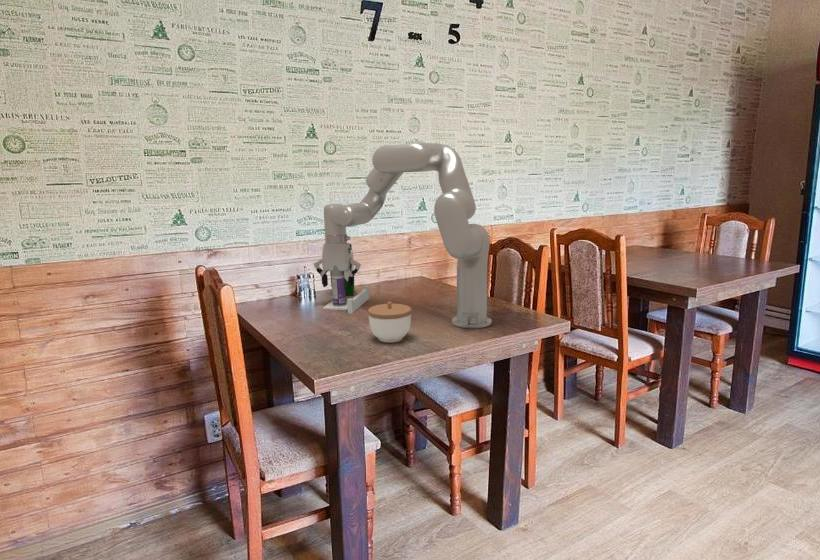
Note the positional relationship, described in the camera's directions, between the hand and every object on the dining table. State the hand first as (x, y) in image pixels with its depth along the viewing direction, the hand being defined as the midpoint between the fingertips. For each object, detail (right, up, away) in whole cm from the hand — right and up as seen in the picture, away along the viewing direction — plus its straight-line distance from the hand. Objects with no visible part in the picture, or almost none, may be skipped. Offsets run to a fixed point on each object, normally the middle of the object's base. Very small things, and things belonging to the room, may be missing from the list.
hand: (338, 286), depth 199 cm
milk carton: (-1, -4, +20) cm, 20 cm away
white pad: (0, -7, +2) cm, 7 cm away
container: (0, -7, +1) cm, 7 cm away
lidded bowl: (+20, -15, -37) cm, 44 cm away
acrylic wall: (+7, -7, +2) cm, 10 cm away
